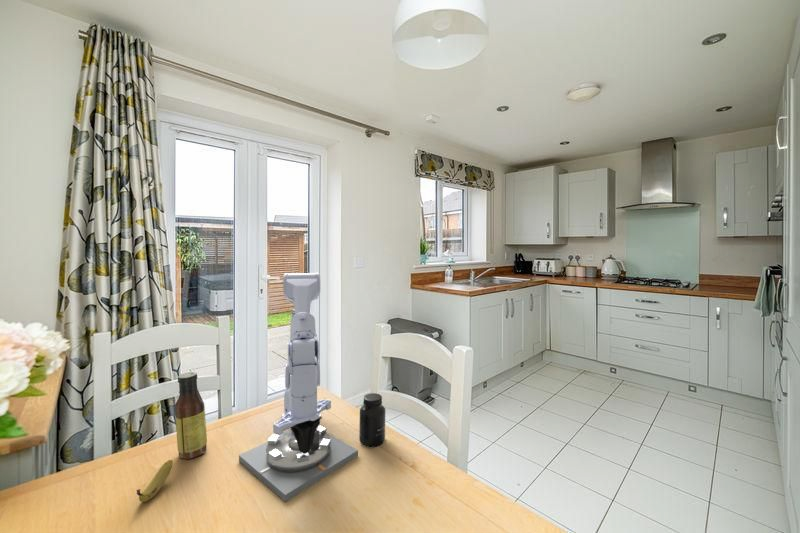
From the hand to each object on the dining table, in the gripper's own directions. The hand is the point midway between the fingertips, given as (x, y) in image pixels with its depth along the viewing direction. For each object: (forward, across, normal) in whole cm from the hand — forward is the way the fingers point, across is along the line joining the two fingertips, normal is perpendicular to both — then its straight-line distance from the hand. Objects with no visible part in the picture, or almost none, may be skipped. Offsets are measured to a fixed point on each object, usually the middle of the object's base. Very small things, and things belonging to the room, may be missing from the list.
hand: (304, 450), depth 78 cm
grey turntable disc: (+4, +3, +6) cm, 7 cm away
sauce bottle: (+6, -11, +29) cm, 31 cm away
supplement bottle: (+6, +19, -4) cm, 20 cm away
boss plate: (+5, +3, +6) cm, 8 cm away
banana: (+6, -22, +21) cm, 31 cm away
